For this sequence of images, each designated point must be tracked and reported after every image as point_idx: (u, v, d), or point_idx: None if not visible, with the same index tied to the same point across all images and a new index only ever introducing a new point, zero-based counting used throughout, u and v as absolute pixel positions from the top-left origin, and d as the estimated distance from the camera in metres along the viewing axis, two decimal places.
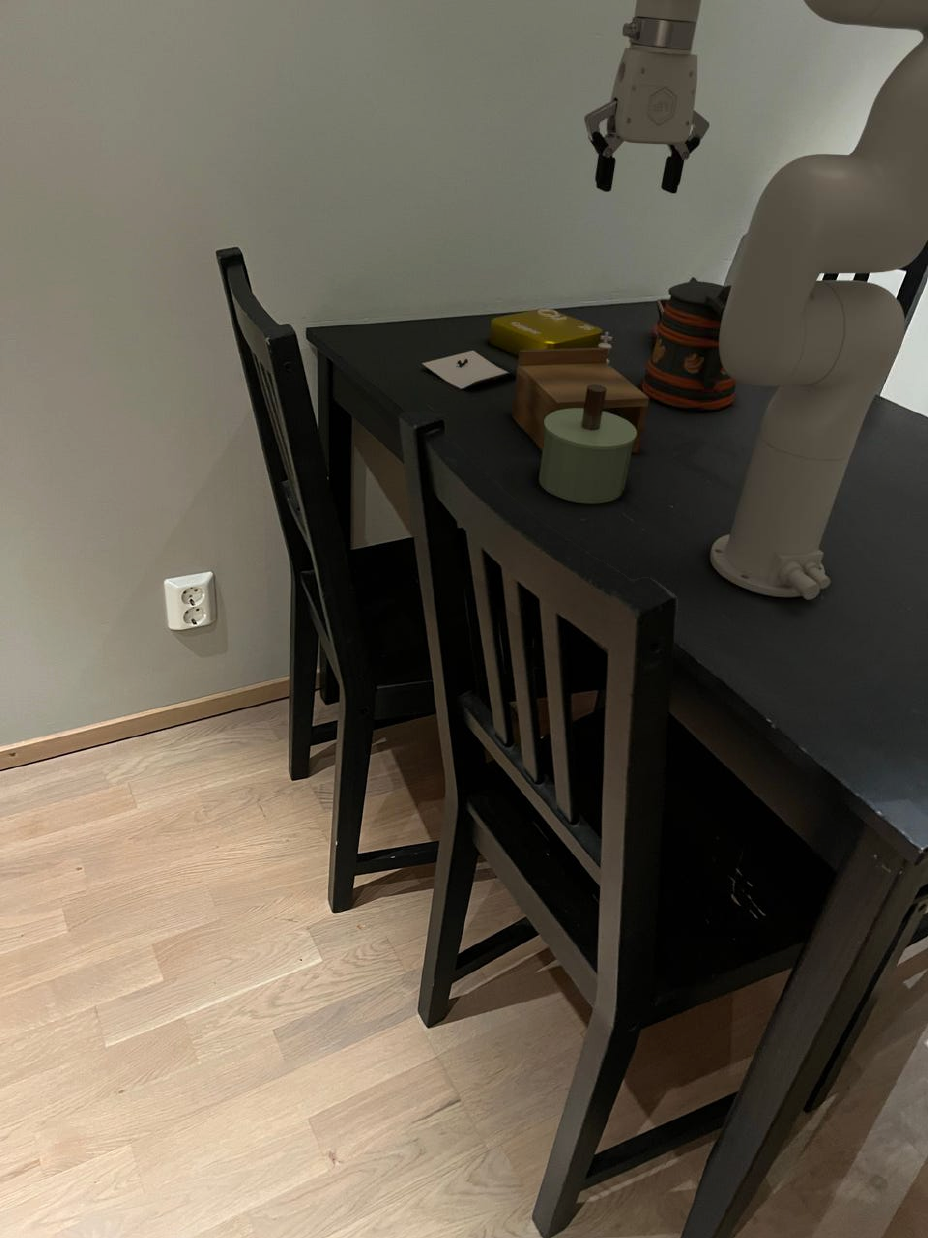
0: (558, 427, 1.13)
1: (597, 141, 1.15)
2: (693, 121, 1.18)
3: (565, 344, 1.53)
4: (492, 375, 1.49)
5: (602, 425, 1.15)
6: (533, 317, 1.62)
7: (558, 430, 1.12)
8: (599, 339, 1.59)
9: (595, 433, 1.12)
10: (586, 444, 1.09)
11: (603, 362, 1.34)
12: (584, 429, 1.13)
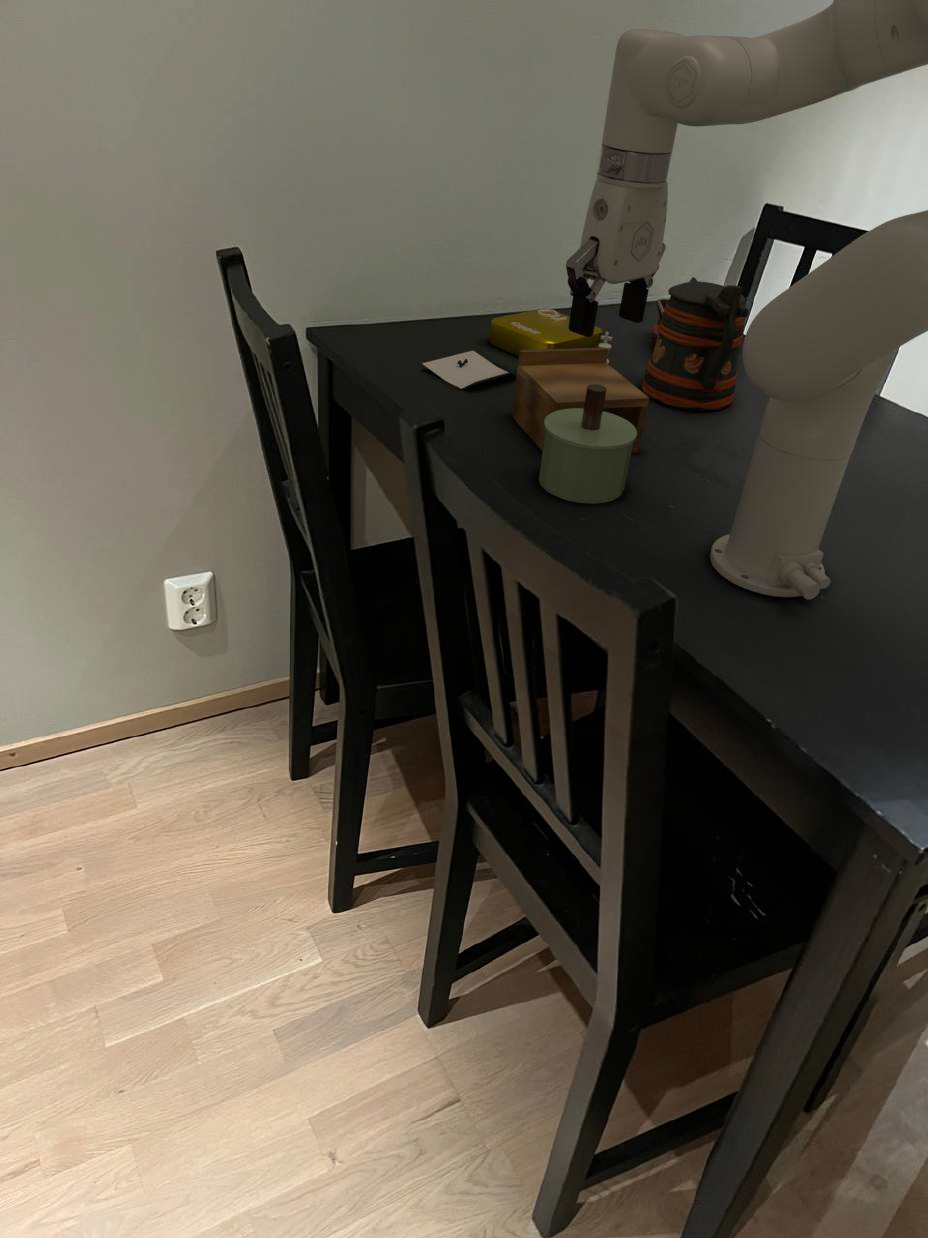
0: (558, 427, 1.13)
1: (581, 286, 1.00)
2: None
3: (565, 344, 1.53)
4: (492, 375, 1.49)
5: (602, 425, 1.15)
6: (533, 317, 1.62)
7: (558, 430, 1.12)
8: (599, 339, 1.59)
9: (595, 433, 1.12)
10: (586, 444, 1.09)
11: (603, 362, 1.34)
12: (584, 429, 1.13)
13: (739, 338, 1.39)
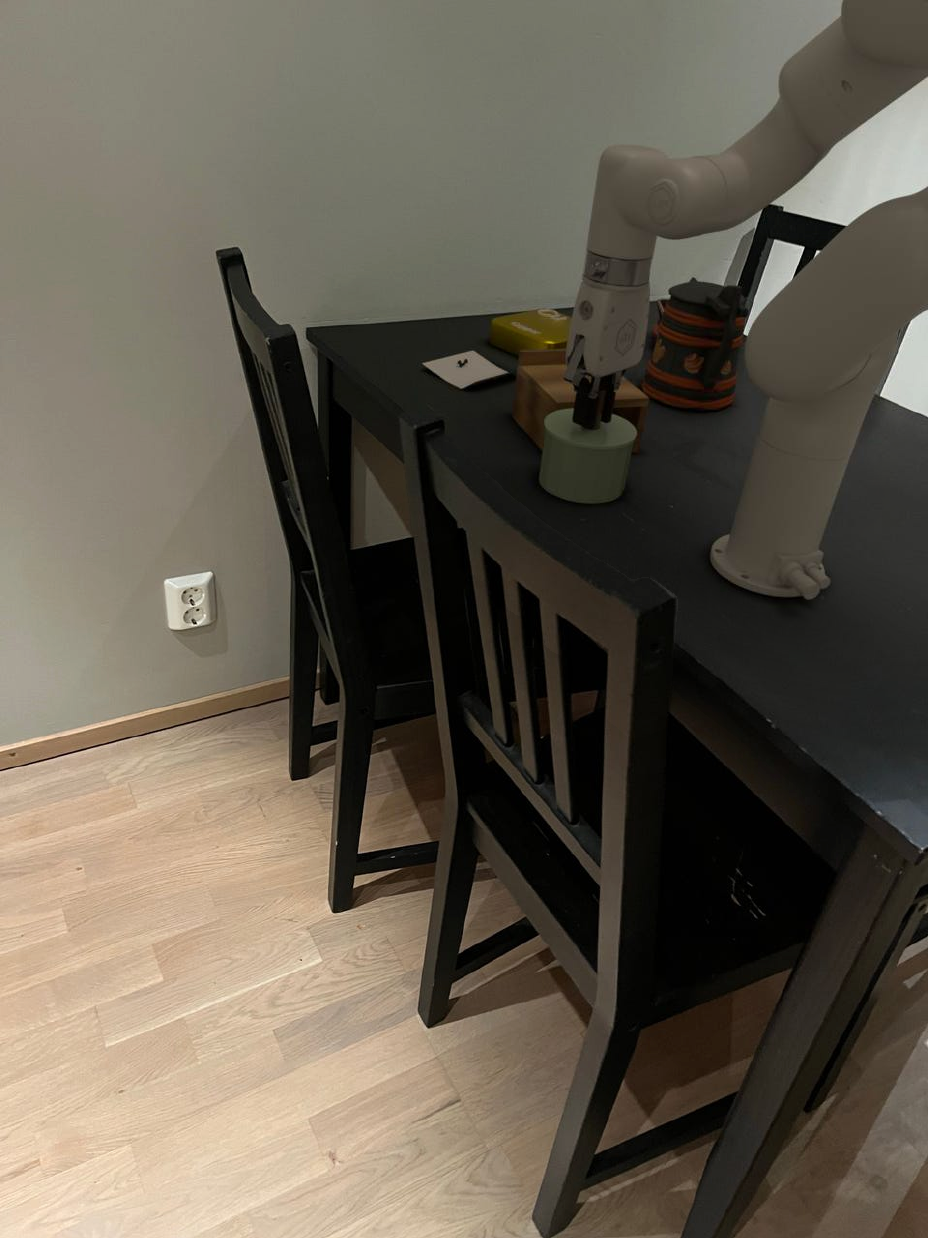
0: (558, 427, 1.13)
1: (584, 386, 1.08)
2: None
3: (565, 344, 1.53)
4: (492, 375, 1.49)
5: (602, 425, 1.15)
6: (533, 317, 1.62)
7: (558, 430, 1.12)
8: None
9: (595, 433, 1.12)
10: (586, 444, 1.09)
11: None
12: (584, 429, 1.13)
13: (739, 338, 1.39)
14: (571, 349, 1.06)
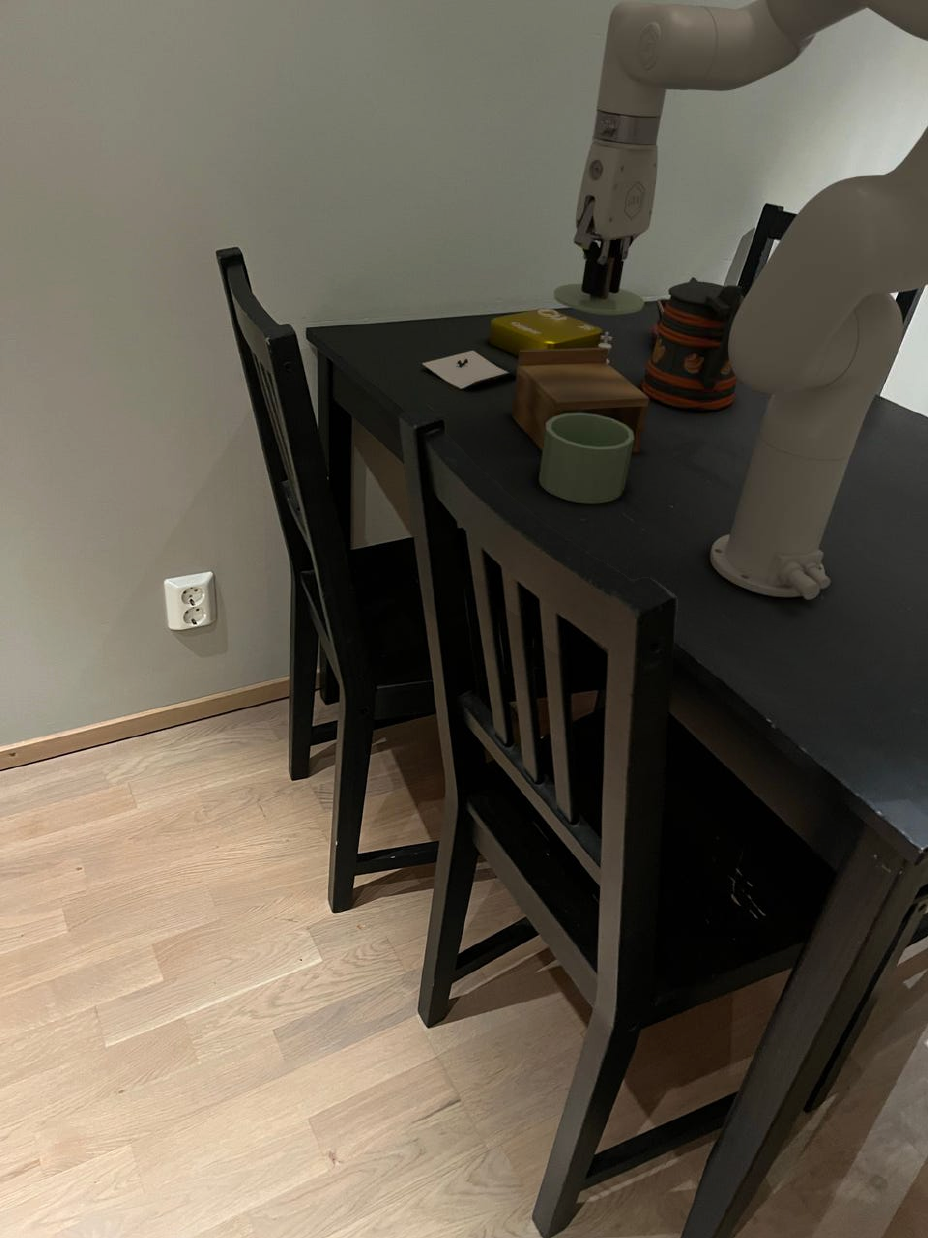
0: (567, 296, 1.16)
1: (593, 250, 1.11)
2: None
3: (565, 344, 1.53)
4: (492, 375, 1.49)
5: (610, 296, 1.18)
6: (533, 317, 1.62)
7: (567, 298, 1.15)
8: (599, 339, 1.59)
9: (603, 301, 1.15)
10: (595, 309, 1.12)
11: (603, 362, 1.34)
12: (593, 298, 1.16)
13: None
14: (581, 211, 1.08)
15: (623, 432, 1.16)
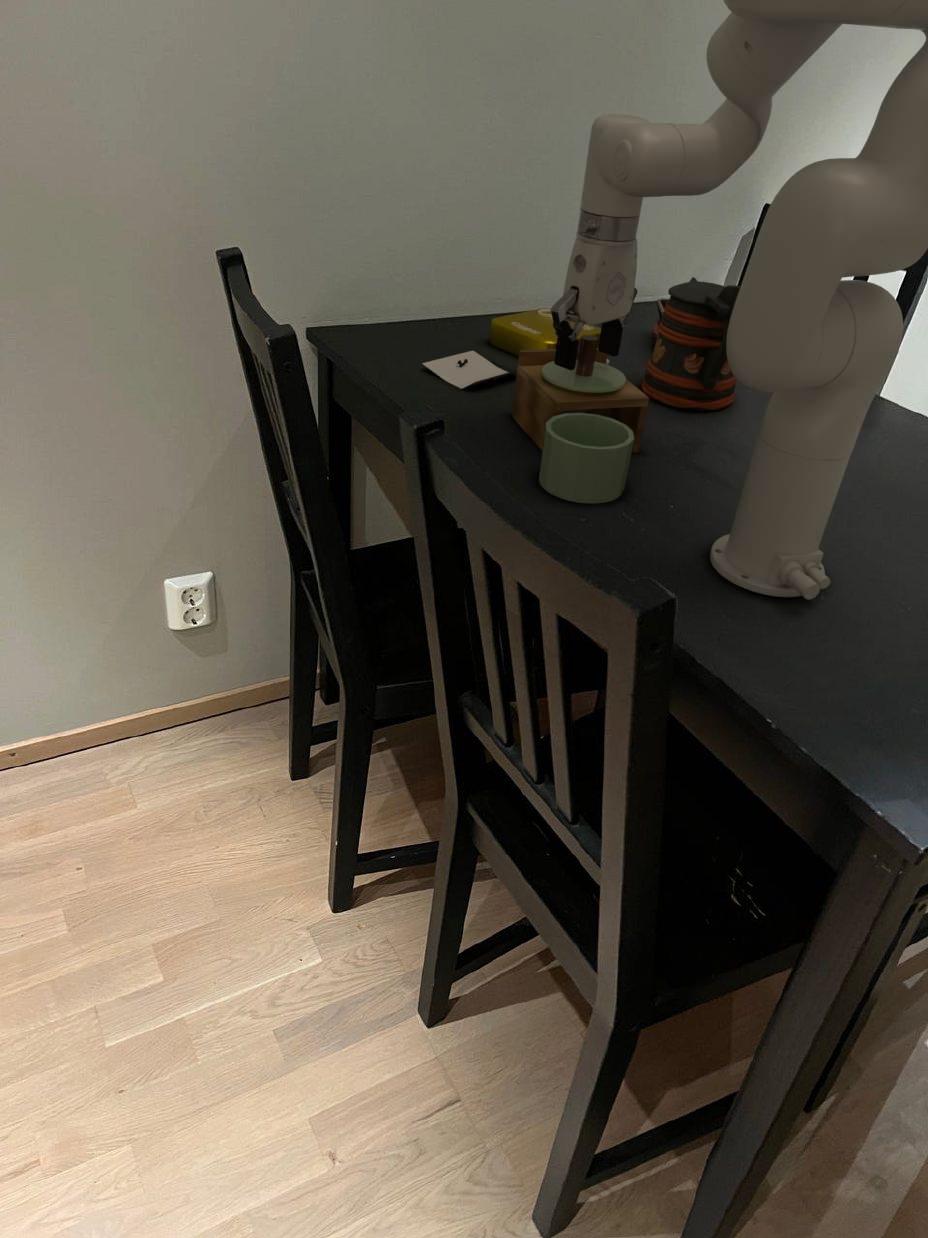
0: (554, 374, 1.25)
1: (564, 328, 1.17)
2: None
3: None
4: (492, 375, 1.49)
5: (594, 373, 1.27)
6: (533, 317, 1.62)
7: (554, 376, 1.24)
8: (599, 339, 1.59)
9: (588, 379, 1.24)
10: (580, 388, 1.21)
11: (603, 362, 1.34)
12: (578, 375, 1.25)
13: None
14: None
15: (623, 432, 1.16)
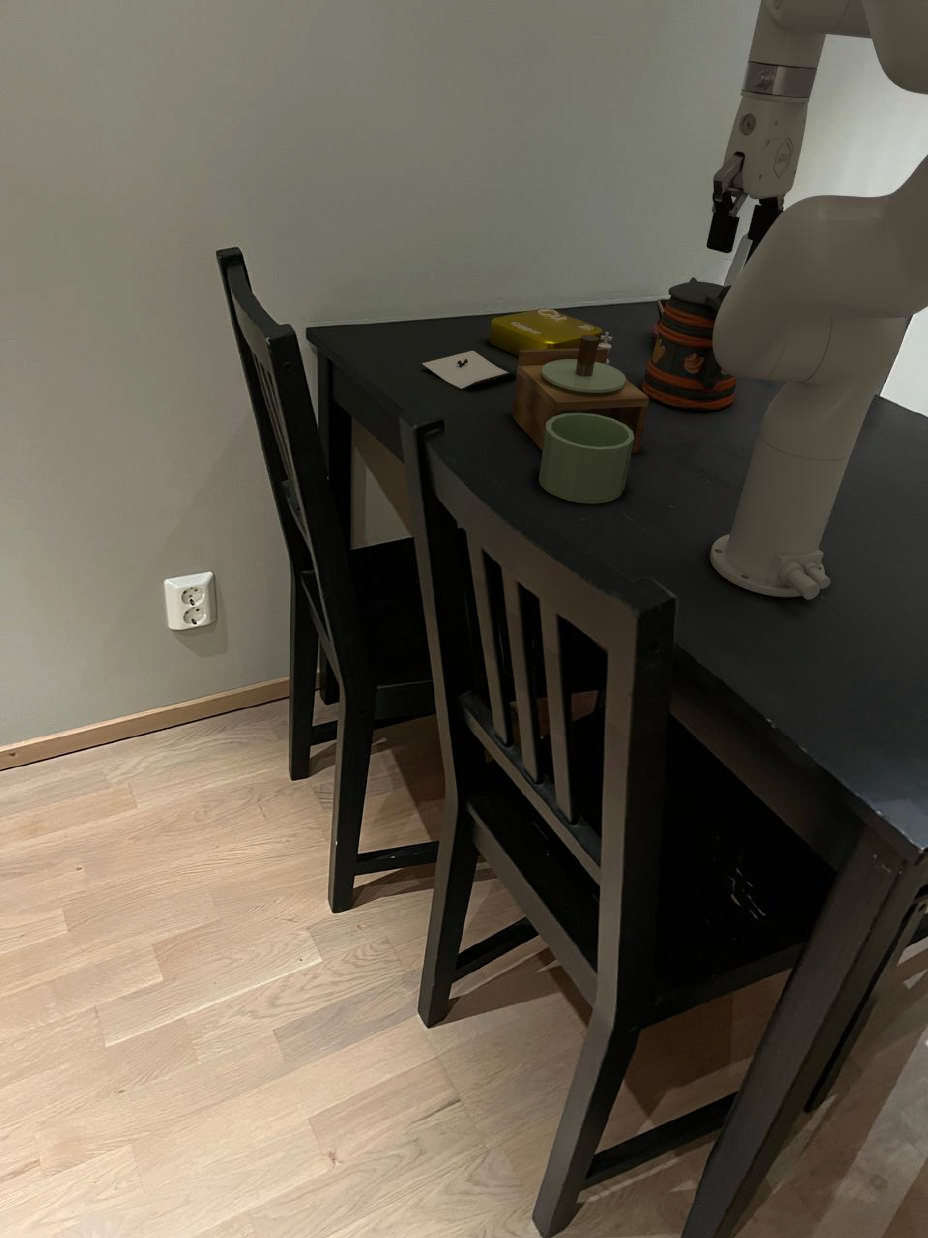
0: (554, 374, 1.25)
1: (726, 201, 1.03)
2: None
3: (565, 344, 1.53)
4: (492, 375, 1.49)
5: (594, 373, 1.27)
6: (533, 317, 1.62)
7: (554, 376, 1.24)
8: (599, 339, 1.59)
9: (588, 379, 1.24)
10: (580, 388, 1.21)
11: (603, 362, 1.34)
12: (578, 375, 1.25)
13: None
14: None
15: (623, 432, 1.16)
